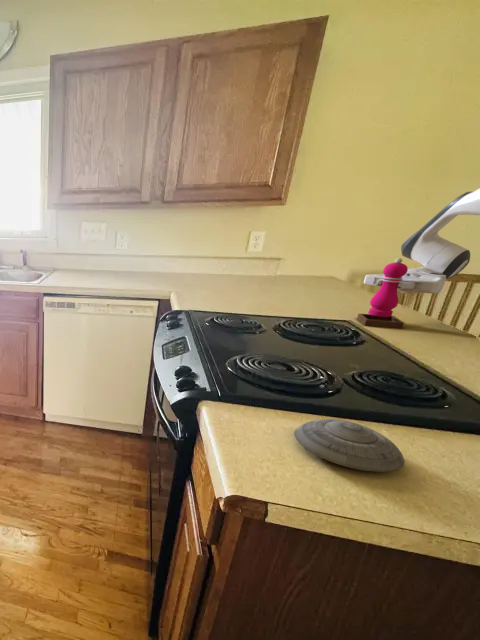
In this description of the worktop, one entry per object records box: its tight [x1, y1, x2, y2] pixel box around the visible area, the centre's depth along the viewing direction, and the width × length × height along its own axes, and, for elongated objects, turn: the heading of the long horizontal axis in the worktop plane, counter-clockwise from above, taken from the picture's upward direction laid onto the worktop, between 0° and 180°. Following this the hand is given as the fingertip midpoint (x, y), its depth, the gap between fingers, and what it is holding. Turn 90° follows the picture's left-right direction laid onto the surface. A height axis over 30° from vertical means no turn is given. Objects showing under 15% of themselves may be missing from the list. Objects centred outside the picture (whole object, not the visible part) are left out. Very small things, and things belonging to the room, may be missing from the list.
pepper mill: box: [367, 257, 409, 317], centre depth 138 cm, size 7×7×20 cm
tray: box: [356, 313, 405, 329], centre depth 142 cm, size 10×10×2 cm
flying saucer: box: [293, 418, 406, 473], centre depth 69 cm, size 15×15×6 cm
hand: (389, 284), depth 137 cm, fingers closed on pepper mill, 5 cm apart
